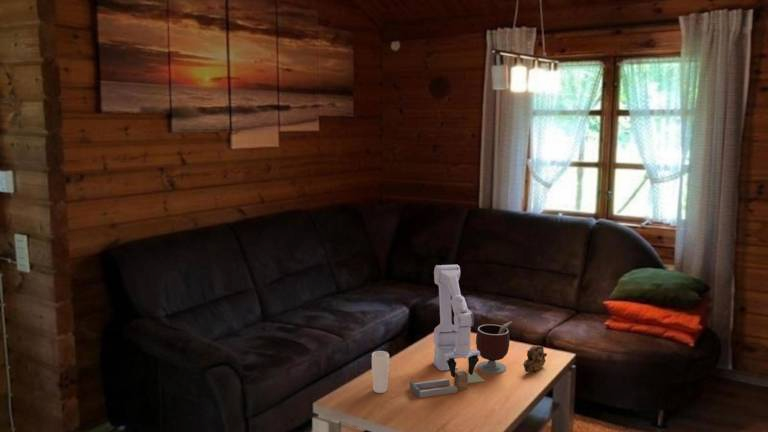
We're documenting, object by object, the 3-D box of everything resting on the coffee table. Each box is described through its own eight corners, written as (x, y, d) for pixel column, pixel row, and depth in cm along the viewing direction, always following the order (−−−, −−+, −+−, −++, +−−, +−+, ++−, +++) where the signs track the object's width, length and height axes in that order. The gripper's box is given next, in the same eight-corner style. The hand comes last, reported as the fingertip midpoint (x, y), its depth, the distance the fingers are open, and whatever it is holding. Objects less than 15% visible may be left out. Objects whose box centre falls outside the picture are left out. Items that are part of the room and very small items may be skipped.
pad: (457, 375, 259) (457, 374, 259) (475, 373, 262) (475, 372, 262) (466, 383, 252) (466, 382, 252) (484, 381, 254) (484, 380, 254)
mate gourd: (483, 376, 259) (485, 329, 256) (469, 363, 272) (471, 318, 269) (517, 372, 263) (519, 326, 260) (502, 359, 276) (504, 316, 273)
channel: (409, 389, 246) (409, 381, 246) (448, 383, 251) (448, 376, 251) (417, 397, 239) (417, 389, 238) (456, 392, 244) (457, 384, 243)
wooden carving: (532, 377, 259) (533, 354, 257) (522, 374, 262) (523, 351, 260) (548, 365, 272) (549, 342, 270) (538, 362, 274) (539, 340, 273)
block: (453, 385, 250) (454, 371, 249) (463, 384, 251) (463, 370, 250) (458, 390, 246) (458, 375, 245) (467, 388, 247) (468, 374, 246)
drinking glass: (391, 388, 246) (391, 352, 244) (385, 395, 240) (386, 358, 238) (374, 385, 249) (375, 349, 246) (368, 392, 242) (369, 355, 240)
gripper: (450, 347, 240) (449, 381, 243) (484, 343, 245) (482, 376, 247) (442, 341, 247) (441, 374, 249) (475, 337, 252) (474, 369, 254)
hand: (461, 375), depth 249 cm, fingers open, 7 cm apart
